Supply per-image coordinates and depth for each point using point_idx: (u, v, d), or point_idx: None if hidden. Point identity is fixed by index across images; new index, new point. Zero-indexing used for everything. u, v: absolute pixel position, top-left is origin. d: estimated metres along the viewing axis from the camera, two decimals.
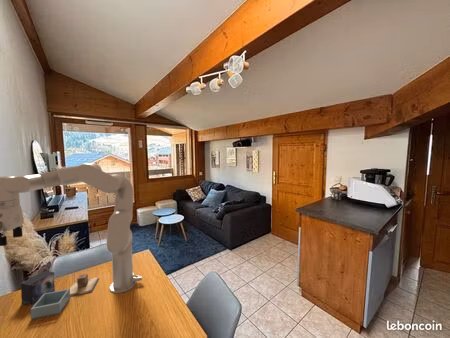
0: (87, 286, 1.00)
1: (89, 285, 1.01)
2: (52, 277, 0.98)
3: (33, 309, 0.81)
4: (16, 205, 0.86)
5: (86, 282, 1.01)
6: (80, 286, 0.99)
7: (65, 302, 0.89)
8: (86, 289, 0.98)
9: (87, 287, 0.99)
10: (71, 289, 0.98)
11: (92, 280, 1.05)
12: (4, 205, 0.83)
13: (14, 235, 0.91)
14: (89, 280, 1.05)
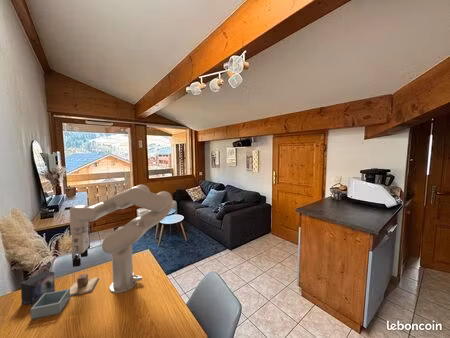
0: (87, 286, 1.00)
1: (89, 285, 1.01)
2: (52, 277, 0.98)
3: (33, 309, 0.81)
4: (87, 230, 1.00)
5: (86, 282, 1.01)
6: (80, 286, 0.99)
7: (65, 302, 0.89)
8: (86, 289, 0.98)
9: (87, 287, 0.99)
10: (71, 289, 0.98)
11: (92, 280, 1.05)
12: (79, 231, 0.96)
13: (81, 255, 1.04)
14: (89, 280, 1.05)
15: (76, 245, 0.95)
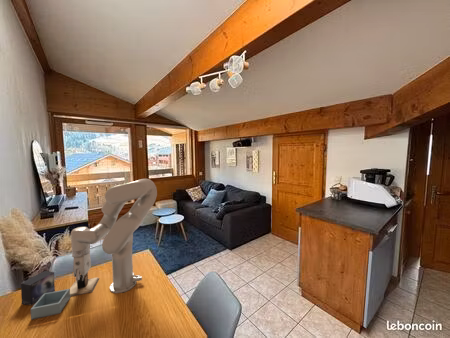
0: (87, 286, 1.00)
1: (89, 285, 1.01)
2: (52, 277, 0.98)
3: (33, 309, 0.81)
4: (88, 252, 1.00)
5: (86, 282, 1.01)
6: None
7: (65, 302, 0.89)
8: (86, 289, 0.98)
9: (87, 287, 0.99)
10: (71, 289, 0.98)
11: (92, 280, 1.05)
12: (80, 254, 0.97)
13: None
14: (89, 280, 1.05)
15: (78, 268, 0.96)
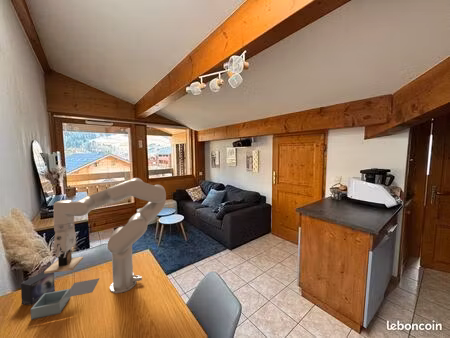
0: (69, 264, 0.92)
1: (72, 263, 0.93)
2: (52, 277, 0.98)
3: (33, 309, 0.81)
4: (72, 227, 0.92)
5: (69, 260, 0.93)
6: None
7: (65, 302, 0.89)
8: (68, 267, 0.90)
9: (68, 266, 0.91)
10: (52, 266, 0.90)
11: (76, 259, 0.97)
12: (63, 228, 0.89)
13: None
14: (73, 259, 0.97)
15: (59, 243, 0.88)
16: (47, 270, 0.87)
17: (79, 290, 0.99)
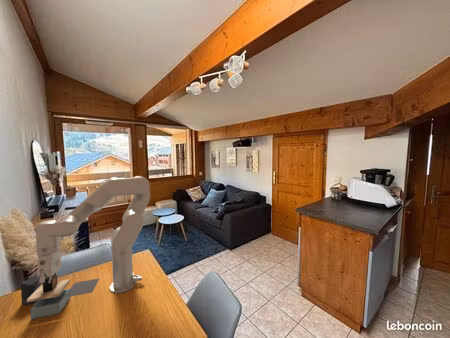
0: (55, 289, 0.86)
1: (58, 288, 0.87)
2: None
3: (33, 309, 0.81)
4: (57, 250, 0.86)
5: (54, 285, 0.87)
6: None
7: (65, 302, 0.89)
8: (53, 293, 0.84)
9: (54, 291, 0.85)
10: (35, 293, 0.84)
11: (62, 282, 0.91)
12: (46, 251, 0.83)
13: None
14: (59, 282, 0.91)
15: (43, 268, 0.81)
16: (30, 298, 0.81)
17: (79, 290, 0.99)
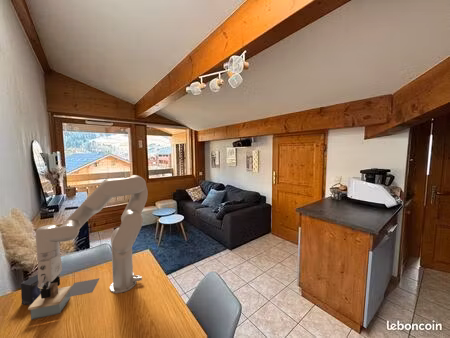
0: (56, 297, 0.86)
1: (59, 295, 0.87)
2: None
3: (33, 309, 0.81)
4: (57, 254, 0.86)
5: (55, 292, 0.87)
6: None
7: (65, 302, 0.89)
8: (54, 300, 0.84)
9: (55, 299, 0.85)
10: (36, 301, 0.84)
11: (63, 289, 0.91)
12: (47, 256, 0.83)
13: None
14: (60, 289, 0.91)
15: (43, 273, 0.81)
16: (31, 306, 0.81)
17: (79, 290, 0.99)
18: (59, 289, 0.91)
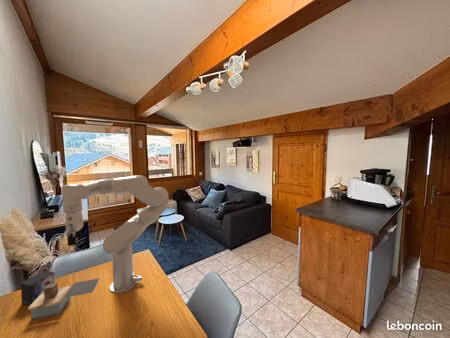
0: (56, 297, 0.86)
1: (59, 295, 0.87)
2: (52, 277, 0.98)
3: (33, 309, 0.81)
4: (80, 209, 0.98)
5: (55, 292, 0.87)
6: (47, 297, 0.85)
7: (65, 302, 0.89)
8: (54, 300, 0.84)
9: (55, 299, 0.85)
10: (36, 301, 0.84)
11: (63, 289, 0.91)
12: (73, 209, 0.95)
13: (76, 236, 1.02)
14: (60, 289, 0.91)
15: (70, 223, 0.94)
16: (31, 306, 0.81)
17: (79, 290, 0.99)
18: (59, 289, 0.91)
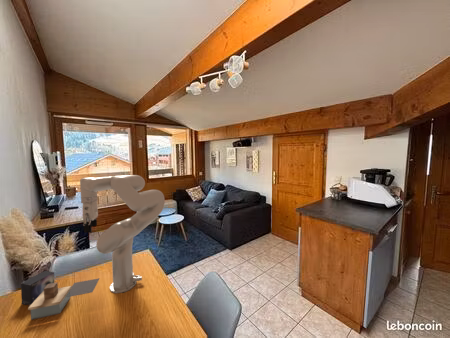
0: (56, 297, 0.86)
1: (59, 295, 0.87)
2: (52, 277, 0.98)
3: (33, 309, 0.81)
4: (96, 200, 1.08)
5: (55, 292, 0.87)
6: (47, 297, 0.85)
7: (65, 302, 0.89)
8: (54, 300, 0.84)
9: (55, 299, 0.85)
10: (36, 301, 0.84)
11: (63, 289, 0.91)
12: (89, 200, 1.05)
13: (91, 225, 1.13)
14: (60, 289, 0.91)
15: (87, 213, 1.03)
16: (31, 306, 0.81)
17: (79, 290, 0.99)
18: (59, 289, 0.91)
